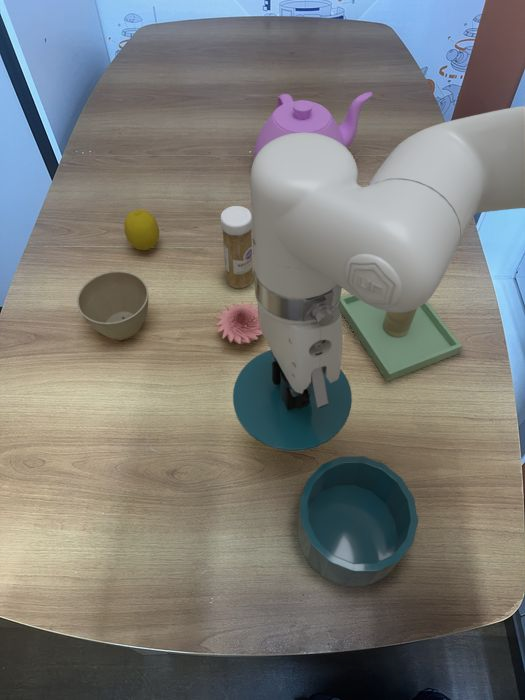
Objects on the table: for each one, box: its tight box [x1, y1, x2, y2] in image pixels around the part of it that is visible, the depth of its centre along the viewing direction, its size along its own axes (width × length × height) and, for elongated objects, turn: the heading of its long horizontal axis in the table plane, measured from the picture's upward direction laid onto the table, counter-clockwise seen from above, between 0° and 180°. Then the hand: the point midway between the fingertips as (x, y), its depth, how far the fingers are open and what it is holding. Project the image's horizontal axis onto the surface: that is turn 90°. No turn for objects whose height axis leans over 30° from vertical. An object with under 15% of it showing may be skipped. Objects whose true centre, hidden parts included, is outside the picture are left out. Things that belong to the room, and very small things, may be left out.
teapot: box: [253, 91, 373, 160], centre depth 99 cm, size 22×22×14 cm
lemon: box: [123, 209, 160, 251], centre depth 89 cm, size 6×6×8 cm
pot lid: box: [232, 349, 353, 452], centre depth 60 cm, size 14×14×6 cm
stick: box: [383, 309, 417, 337], centre depth 76 cm, size 4×4×14 cm
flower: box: [213, 300, 263, 345], centre depth 79 cm, size 8×8×6 cm
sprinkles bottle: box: [220, 205, 254, 289], centre depth 83 cm, size 5×5×14 cm
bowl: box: [76, 270, 149, 341], centre depth 80 cm, size 10×10×7 cm
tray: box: [338, 293, 463, 382], centre depth 81 cm, size 15×12×2 cm
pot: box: [296, 455, 419, 588], centre depth 62 cm, size 13×13×8 cm
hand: (292, 390), depth 61 cm, fingers closed on pot lid, 2 cm apart
